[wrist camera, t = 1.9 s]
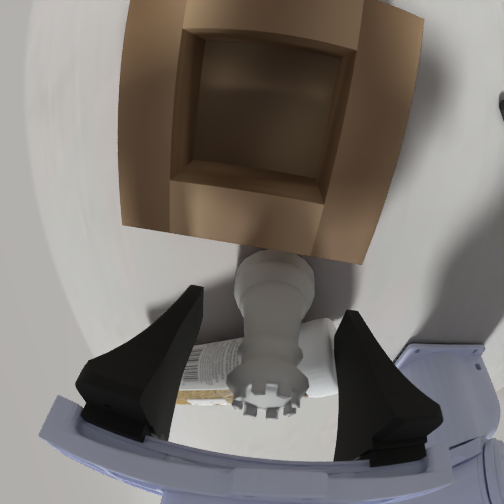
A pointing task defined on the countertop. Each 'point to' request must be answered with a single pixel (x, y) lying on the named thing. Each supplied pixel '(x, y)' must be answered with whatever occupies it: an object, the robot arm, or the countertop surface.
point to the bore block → (264, 119)
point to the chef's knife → (502, 108)
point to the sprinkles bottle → (225, 360)
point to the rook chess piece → (271, 332)
